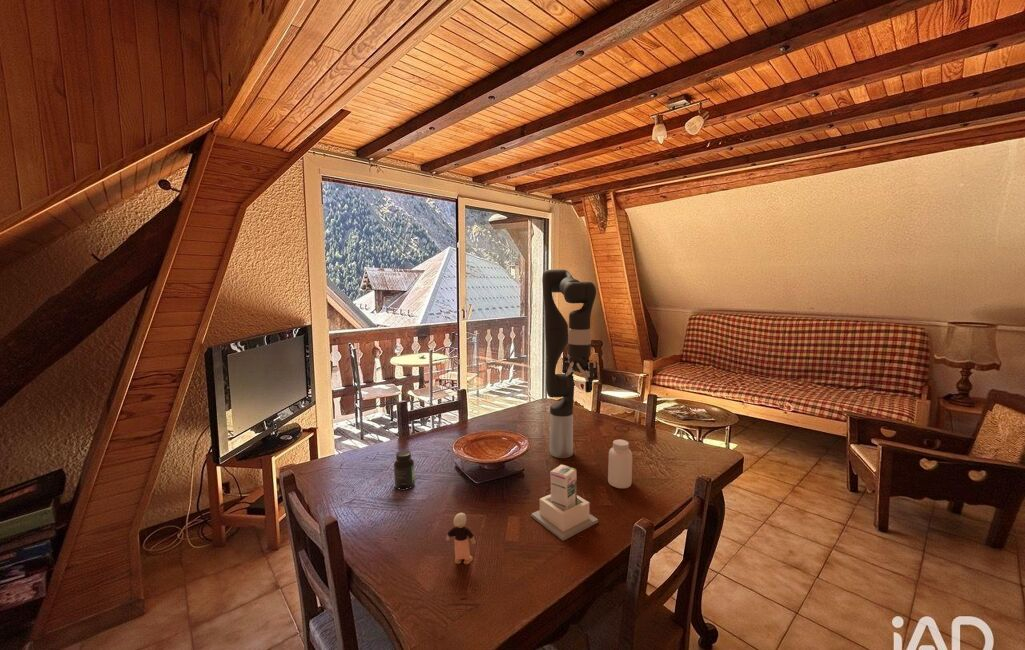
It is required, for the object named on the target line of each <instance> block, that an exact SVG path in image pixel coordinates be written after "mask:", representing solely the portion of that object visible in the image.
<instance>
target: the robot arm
mask: <svg viewBox="0 0 1025 650" xmlns="http://www.w3.org/2000/svg"><path fill="white" fill-rule="evenodd" d="M541 277H542V290H543V291H542V293H543V303H544V331H545V332H544V336H545V337H544V338H545V352H546V353H545V354H546V373H545V388H546V389H545V390H546V393H547V397H549V398H561V399H560V400H559V401H556V402H555V403H552V404H551V405H550V407H549V418H550V419H549V421H550V422H549V429H548V452H549V454H550V456H552V457H554V458H559V459H566V458H570V457H572V456H573V455H574V453H573V452H574V400H575V399H574V397H575V395H574V394H575V381H574V380H575V378H574V375H575V372H577V373H580V374H581V376H582V377H584V379H585V382H584V383H585V384H584V385H585V390H584V391H585V393H591V392H592V391H593V382H594V381H597V380H598V378H599V377H598V376H599V375H598V374H599V373H598V362H597V361H591V360H590V357H591V355H592V334H591V315H592V312H593V311H592V310H593V306H594V303H595V300H596V296H597V288H596V285H595V284H594V283H593V282H591V281H580V280H578V279H577V278H574V277H573V275H572V274H571V273H570V272H569V271H568V270H567V269H545V270H544V271H543V272H542V276H541ZM554 293H560V294H562V296H563V297H564V301H565V302H566V303H568V304H582V306H581V308H579V309H576V310H572V311H570V312H569V314H568V322H567V320H566V318H565V317H564V316H563V314H562V313H561V312H560V310H559V308H558V307H557V305H556V303H555V299H554V297H553V294H554ZM566 347H567V351H568V352H567V356H566V355H565V356H563V357H562V368H561V371H562V373H556V370H557V365H558V362H559V360H560V357H561V356H562V354H563V353H564V351H565V349H566Z"/></svg>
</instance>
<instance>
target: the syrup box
mask: <svg viewBox="0 0 1025 650" xmlns="http://www.w3.org/2000/svg"><path fill="white" fill-rule="evenodd" d="M549 473H550V494H551V503H552V504H553V505H555V506H556V507H558V508H559V509H561V510H562V511H563V512H564V511H566V510H568V509H570V508H572V507H574V506H576V505H577V495H578V493H577V492H578V491H577V490H578V487H577V486H578V485H577V483H578V482H577V468H574V467H571V466H568V465H565V464H560V465H559V466H557V467H555V468H554V469H552V470H551V471H550V472H549Z"/></svg>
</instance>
